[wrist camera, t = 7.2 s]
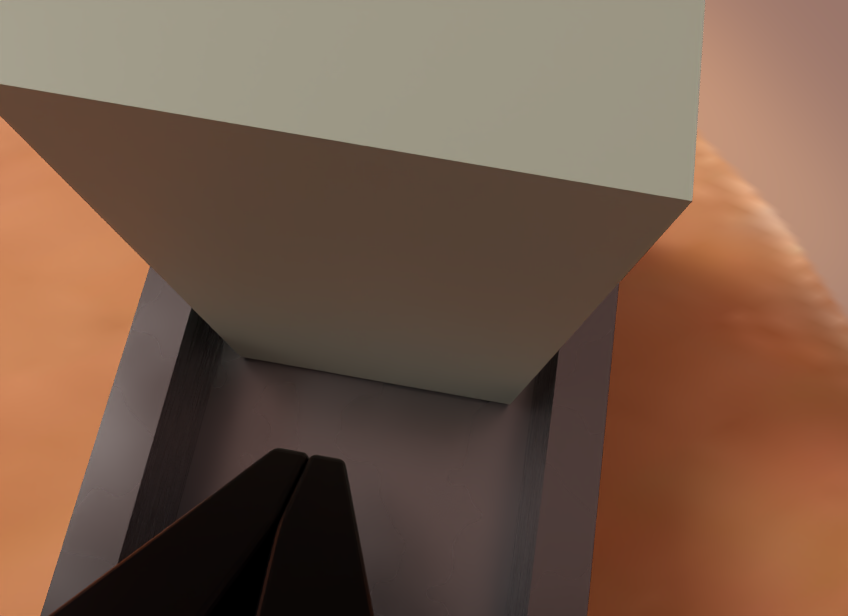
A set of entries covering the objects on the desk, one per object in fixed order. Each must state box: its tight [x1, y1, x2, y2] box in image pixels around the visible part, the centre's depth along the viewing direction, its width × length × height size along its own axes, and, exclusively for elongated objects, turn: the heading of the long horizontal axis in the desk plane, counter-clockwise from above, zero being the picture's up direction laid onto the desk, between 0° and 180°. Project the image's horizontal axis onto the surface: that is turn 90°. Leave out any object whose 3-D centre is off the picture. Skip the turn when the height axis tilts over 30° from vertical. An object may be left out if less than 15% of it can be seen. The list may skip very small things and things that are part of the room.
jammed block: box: [0, 0, 705, 405], centre depth 11 cm, size 5×6×10 cm
